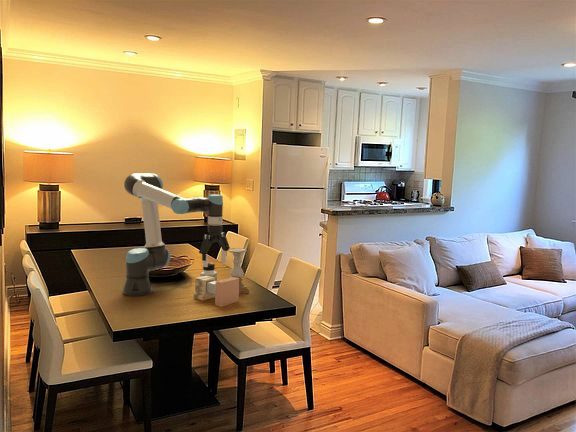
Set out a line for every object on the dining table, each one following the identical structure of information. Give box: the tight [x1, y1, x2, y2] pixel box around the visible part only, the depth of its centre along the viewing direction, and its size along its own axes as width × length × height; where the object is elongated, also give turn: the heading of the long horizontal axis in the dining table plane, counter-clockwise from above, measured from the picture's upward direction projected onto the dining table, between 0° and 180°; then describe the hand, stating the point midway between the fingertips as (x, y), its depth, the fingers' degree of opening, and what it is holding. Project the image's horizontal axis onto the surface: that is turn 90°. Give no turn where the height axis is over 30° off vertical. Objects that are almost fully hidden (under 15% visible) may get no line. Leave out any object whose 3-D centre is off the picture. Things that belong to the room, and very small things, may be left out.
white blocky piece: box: [193, 276, 215, 301], centre depth 263 cm, size 7×10×11 cm
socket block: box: [214, 276, 240, 308], centre depth 253 cm, size 4×13×12 cm, turn 144°
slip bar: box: [206, 280, 216, 294], centre depth 260 cm, size 15×5×5 cm, turn 54°
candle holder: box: [227, 247, 250, 295], centre depth 275 cm, size 11×11×24 cm
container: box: [199, 262, 218, 281], centre depth 287 cm, size 8×8×13 cm
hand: (214, 264), depth 258 cm, fingers open, 13 cm apart
